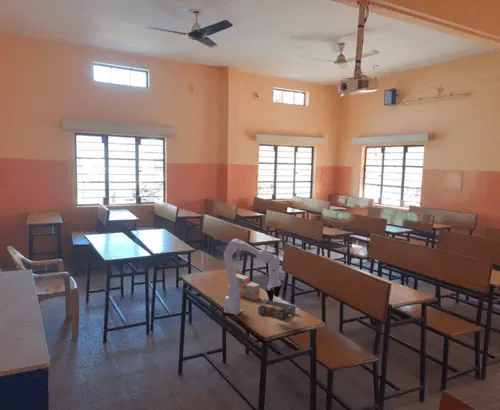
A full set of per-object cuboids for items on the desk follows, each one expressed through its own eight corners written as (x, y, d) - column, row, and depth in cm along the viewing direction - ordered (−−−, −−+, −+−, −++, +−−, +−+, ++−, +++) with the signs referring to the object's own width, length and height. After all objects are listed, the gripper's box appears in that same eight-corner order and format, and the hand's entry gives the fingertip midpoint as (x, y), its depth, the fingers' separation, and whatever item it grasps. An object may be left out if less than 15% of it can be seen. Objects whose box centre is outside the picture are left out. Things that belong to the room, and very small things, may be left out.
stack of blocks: (259, 298, 255) (260, 280, 254) (253, 300, 251) (253, 282, 249) (237, 290, 270) (237, 273, 269) (230, 292, 266) (230, 275, 264)
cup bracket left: (258, 313, 230) (258, 307, 229) (263, 309, 236) (263, 303, 235) (264, 315, 228) (264, 308, 227) (269, 311, 234) (269, 304, 233)
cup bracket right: (288, 315, 228) (289, 309, 227) (283, 319, 222) (283, 313, 221) (282, 314, 230) (282, 307, 229) (277, 318, 224) (277, 311, 223)
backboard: (260, 308, 237) (260, 301, 236) (264, 306, 241) (264, 298, 241) (292, 316, 226) (292, 308, 226) (295, 313, 231) (295, 305, 230)
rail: (261, 313, 231) (261, 305, 230) (264, 311, 234) (264, 303, 233) (282, 318, 224) (283, 310, 223) (285, 316, 227) (285, 308, 226)
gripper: (274, 280, 218) (274, 303, 219) (285, 274, 230) (285, 296, 232) (263, 278, 221) (263, 301, 223) (275, 272, 233) (274, 293, 235)
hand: (273, 298), depth 227 cm, fingers open, 7 cm apart
